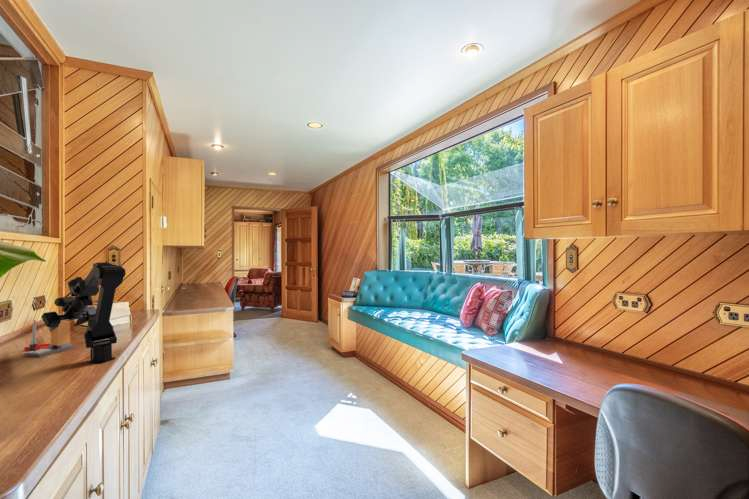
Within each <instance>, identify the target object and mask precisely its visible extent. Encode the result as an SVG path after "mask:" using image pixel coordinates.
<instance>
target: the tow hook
mask: <svg viewBox="0 0 749 499" xmlns="http://www.w3.org/2000/svg"><path fill="white" fill-rule="evenodd" d="M49 345H51V342H49V343H39V344H38V343H37V320H33V325H32V334H31V341H30V344H29V346H25V347H24V348H23V350H24V351H35V350H39V349H44V348H48V347H49Z"/></svg>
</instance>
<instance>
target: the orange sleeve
mask: <svg viewBox="0 0 749 499" xmlns="http://www.w3.org/2000/svg"><path fill="white" fill-rule="evenodd" d="M50 343H51V345H55V346H59V345H64V344H69V343H71V321H69V320H63V321H61V323H60V324H59V326H58V327H57V328H56V329H54V330H53V331H51V332H50Z"/></svg>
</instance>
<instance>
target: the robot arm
mask: <svg viewBox="0 0 749 499" xmlns="http://www.w3.org/2000/svg"><path fill="white" fill-rule="evenodd" d="M126 272H127V271H126V270H125V267H122V265H117V264H113V263H111V262H108V261H103V262H101V261H100V262H94V263H93V264H92V268H91V270H90V271H89V272H88V275H87V276H86V277H85V279H83V277H82V276H76V277H75V278H74V279H70V280H69V281H68V282H67V286H68V287H67V288H68V290H69V293H70V296H62V297H57V298H55V300H54V305H55V306H57V307H61V308H62V309H61V311H62V313H63V314H58V312H57V311H47V312H43V314H42V315H41V320H42V321H43V322H44V325H45V326H46V328H48V329H49V332H50V333H51V331H53V330H54V329H56V328H57V327H58V326H59V324H60V323H61V321H73V320H76V322H75V323H74V327H75V328H77V327H79V326H81V325H84V324H87V325H86V330H85V332H84V334H83V338H84V344H85V348H86V349H87V348H88V349H90V351H89V352H90V354H89V355H90V357H89V358H90V359H89V360H87V361H86V363H92V364H102V363H103V364H104V363H106V362H109V361H112V360H114V359H116V356H113V346H112V345H113V344H117V341H118V339H117V338H118V337H117V335H116V332H115V330H114V326H113V325H112V323H111V320H110V319H111V316H112V315H111V314H112V310H113V304H114V300H115V299H114V298H115V296H116V295H115V293H116V290H117V288H118V287H120V286H121V285H122V283H123V281H124V278H125V277H126ZM97 295H98V299H97V303H96V307H95V306H94V304H93V301H92V300H93V297H94V296H97Z"/></svg>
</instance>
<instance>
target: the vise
mask: <svg viewBox="0 0 749 499" xmlns="http://www.w3.org/2000/svg"><path fill="white" fill-rule="evenodd" d="M73 348H75V344H73V343H72V342H70V343H69V344H64V345H59V346H55V345H49V347H48V348H44V349H39V350H30V351H27V352H24V357H31V358H42V357H45V356H49V355H52V354H55V353H56V354H57V353H59V352H62V351H66V350H70V349H73Z"/></svg>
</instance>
